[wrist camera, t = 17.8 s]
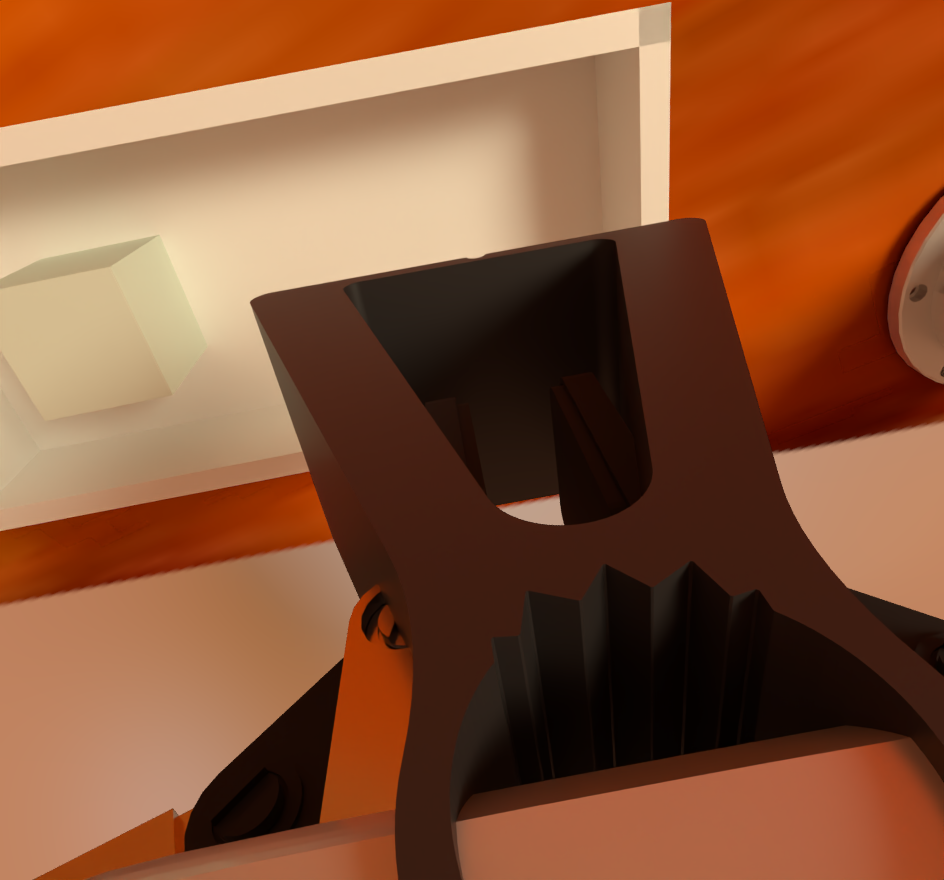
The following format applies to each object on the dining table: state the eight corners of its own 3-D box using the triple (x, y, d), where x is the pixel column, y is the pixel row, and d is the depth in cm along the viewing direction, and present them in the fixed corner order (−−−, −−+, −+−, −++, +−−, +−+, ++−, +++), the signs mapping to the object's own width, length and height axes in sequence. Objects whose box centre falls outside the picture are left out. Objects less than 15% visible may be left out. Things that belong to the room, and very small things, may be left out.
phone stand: (697, 215, 12) (2383, 969, 2) (686, 463, 15) (1282, 1262, 5) (253, 292, 12) (-654, 1541, 2) (332, 525, 15) (180, 1471, 5)
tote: (611, 19, 24) (670, 2, 18) (621, 348, 31) (666, 402, 26) (-150, 162, 23) (-305, 185, 18) (41, 460, 31) (-31, 537, 25)
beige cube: (159, 234, 25) (110, 266, 21) (208, 346, 27) (172, 395, 23) (40, 259, 25) (-34, 295, 21) (99, 368, 27) (45, 421, 23)
